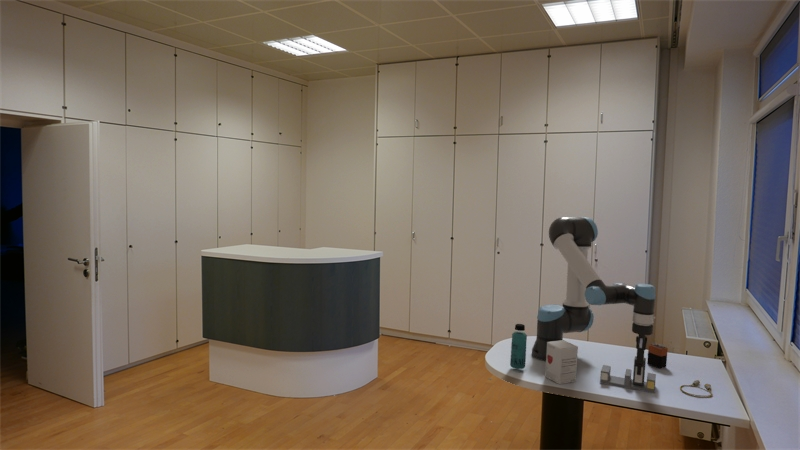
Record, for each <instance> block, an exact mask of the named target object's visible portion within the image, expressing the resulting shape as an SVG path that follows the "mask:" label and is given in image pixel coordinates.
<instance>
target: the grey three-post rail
mask: <svg viewBox="0 0 800 450" xmlns="http://www.w3.org/2000/svg"><path fill="white" fill-rule="evenodd" d="M611 368H612V366H611V365H607V364H603V365H602V366H601V370H600V381H599V383H600V384H605V385H609V386H616V387H621V388H626V389H631V390H636V391H643V392H647V393H652V394H655V393H656V391H655V390H656V379H657V378H656V376H657V374H656V373H653V372H652V373H651V372H647V376H646V381H644V386H643V385H638V384H633V378H632V369H628V368H626V369H625V370H626V371H625V373H624V377H621V376H616V375H611V371H612V370H611Z"/></svg>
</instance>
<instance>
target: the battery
mask: <svg viewBox="0 0 800 450" xmlns="http://www.w3.org/2000/svg"><path fill="white" fill-rule="evenodd" d="M667 361H668V347H667V346H665V345H664V344H658V343H656V342H652V343H651V344H648V349H647V365H649V366H652V367H654V368H658V369H664V368H667V364H668V363H667Z"/></svg>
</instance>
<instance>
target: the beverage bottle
mask: <svg viewBox="0 0 800 450" xmlns="http://www.w3.org/2000/svg"><path fill="white" fill-rule="evenodd" d="M514 330H515V331H513V333H512V334H511V345H510V346H511V347H510V361H509V363H510V368H511V369H512V368H513V369H515V370H523V369H525V367H526V359H527V340H528V339H527V337H528V335H527V334H526V333H525V332H524V331H525V330H526V325H525V324H523V323H515V325H514Z"/></svg>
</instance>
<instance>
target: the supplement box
mask: <svg viewBox="0 0 800 450" xmlns="http://www.w3.org/2000/svg"><path fill="white" fill-rule="evenodd" d="M578 351H579V346H578V345H576V344H573V343H571V342H570V341H566V340H564V339H563V340H560V341H551V342H547V354H546V361H545V373H544V376H545V378H548V379H549V380H551V381H552V382H554V383H556V384H558V385H563V384H567V383H574V382H576V380H577V379H576V378H577V367H578V366H577V365H578V364H577V363H578V353H579V352H578Z"/></svg>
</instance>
